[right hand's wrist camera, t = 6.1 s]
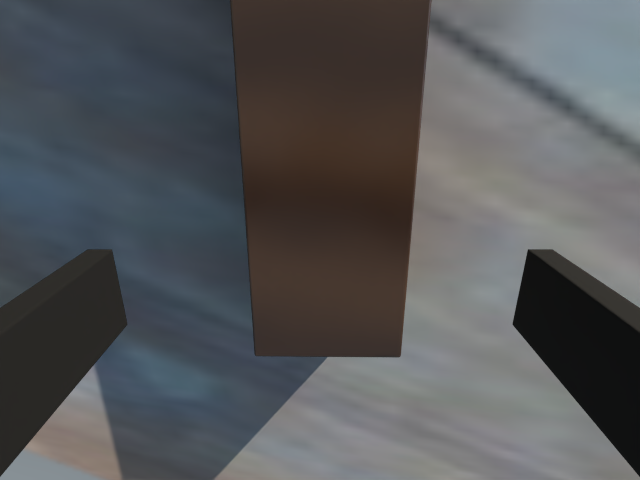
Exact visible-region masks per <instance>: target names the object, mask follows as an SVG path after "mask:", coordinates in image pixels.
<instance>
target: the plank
mask: <svg viewBox="0 0 640 480" xmlns="http://www.w3.org/2000/svg"><path fill="white" fill-rule="evenodd" d="M230 6H231V20H232V35H233V49H234V63H235V78H236V92H237V107H238V121H239V135H240V150H241V164H242V178H243V193H244V207H245V221H246V236H247V250H248V264H249V279H250V293H251V307H252V322H253V336H254V350H255V356H304V357H400V356H401V346H402V335H403V323H404V311H405V300H406V288H407V277H408V265H409V254H410V242H411V231H412V219H413V207H414V196H415V184H416V173H417V161H418V150H419V138H420V127H421V115H422V104H423V92H424V80H425V69H426V57H427V46H428V34H429V23H430V11H431V0H230Z"/></svg>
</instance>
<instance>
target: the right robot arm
mask: <svg viewBox="0 0 640 480" xmlns="http://www.w3.org/2000/svg"><path fill="white" fill-rule="evenodd" d="M126 326H127V320H126V315H125V310H124V305H123V300H122V296H121V291H120V286H119V281H118V276H117V271H116V267H115V262H114V257H113V252H112V250H86V251H85V252H83V253H82V254H80V255H79V256H77V257H76V258H74V259H73V260H71V261H70V262H68V263H67V264H65V265H64V266H62V267H61V268H59V269H58V270H56V271H55V272H53V273H52V274H50V275H49V276H47V277H46V278H44V279H43V280H41V281H40V282H38V283H37V284H35V285H34V286H32V287H31V288H29V289H28V290H26V291H25V292H23V293H22V294H20V295H19V296H17V297H16V298H15V299H13V300H12V301H10V302H9V303H7V304H6V305H4V306H3V307H1V308H0V476H1V475H2V474H3V473H4V472H5V470H6V469H7V468H8V467H9V466H10V464H11V463H12V462H13V461H14V460H15V458H16V457H17V456H18V455H19V454H20V452H21V451H22V450H23V449H24V448H25V446H26V445H27V444H28V443H29V442H30V440H31V439H32V438H33V437H34V436H35V434H36V433H37V432H38V431H39V430H40V429H41V427H42V426H43V425H44V424H45V423H46V421H47V420H48V419H49V418H50V417H51V415H52V414H53V413H54V412H55V411H56V409H57V408H58V407H59V406H60V405H61V403H62V402H63V401H64V400H65V399H66V397H67V396H68V395H69V394H70V393H71V391H72V390H73V389H74V388H75V387H76V385H77V384H78V383H79V382H80V381H81V379H82V378H83V377H84V376H85V375H86V373H87V372H88V371H89V370H90V369H91V367H92V366H93V365H94V364H95V363H96V362H97V360H98V359H99V358H100V357H101V356H102V354H103V353H104V352H105V351H106V350H107V348H108V347H109V346H110V345H111V344H112V342H113V341H114V340H115V339H116V338H117V336H118V335H119V334H120V333H121V332H122V330H123V329H124V328H125V327H126ZM513 326H514V327H515V328H516V329H517V330H518V332H519V333H520V334H521V335H522V336H523V338H524V339H525V340H526V341H527V342H528V344H529V345H530V346H531V347H532V348H533V350H534V351H535V352H536V353H537V354H538V356H539V357H540V358H541V359H542V360H543V362H544V363H545V364H546V365H547V366H548V367H549V369H550V370H551V371H552V372H553V373H554V375H555V376H556V377H557V378H558V379H559V381H560V382H561V383H562V384H563V385H564V387H565V388H566V389H567V390H568V391H569V393H570V394H571V395H572V396H573V397H574V399H575V400H576V401H577V402H578V403H579V405H580V406H581V407H582V408H583V409H584V411H585V412H586V413H587V414H588V415H589V417H590V418H591V419H592V420H593V421H594V423H595V424H596V425H597V426H598V427H599V429H600V430H601V431H602V432H603V433H604V434H605V436H606V437H607V438H608V439H609V440H610V442H611V443H612V444H613V445H614V446H615V448H616V449H617V450H618V451H619V452H620V454H621V455H622V456H623V457H624V458H625V460H626V461H627V462H628V463H629V464H630V466H631V467H632V468H633V469H634V470H635V472H636V473H637V474H638V475H639V476H640V308H639V307H637V306H636V305H634V304H633V303H631V302H630V301H628V300H627V299H625V298H624V297H623V296H621V295H620V294H618V293H617V292H615V291H614V290H612V289H611V288H609V287H608V286H606V285H605V284H603V283H602V282H600V281H599V280H597V279H596V278H594V277H593V276H591V275H590V274H588V273H587V272H585V271H584V270H582V269H581V268H579V267H578V266H576V265H575V264H573V263H572V262H570V261H569V260H567V259H566V258H564V257H563V256H561V255H560V254H558V253H557V252H555V251H554V250H528V252H527V257H526V262H525V267H524V271H523V276H522V281H521V286H520V291H519V296H518V300H517V305H516V310H515V315H514V320H513Z"/></svg>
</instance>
